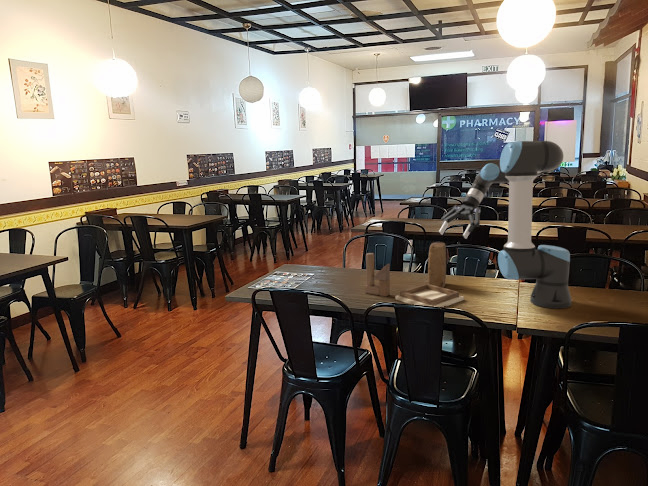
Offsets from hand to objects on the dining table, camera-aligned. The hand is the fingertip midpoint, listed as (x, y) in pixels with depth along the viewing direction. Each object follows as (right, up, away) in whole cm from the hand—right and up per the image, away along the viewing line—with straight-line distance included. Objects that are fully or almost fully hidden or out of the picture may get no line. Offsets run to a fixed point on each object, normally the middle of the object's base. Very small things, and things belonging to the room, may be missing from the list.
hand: (452, 235), depth 229 cm
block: (-8, -24, -2) cm, 25 cm away
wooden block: (-37, -26, -12) cm, 47 cm away
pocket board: (-16, -28, -22) cm, 39 cm away
